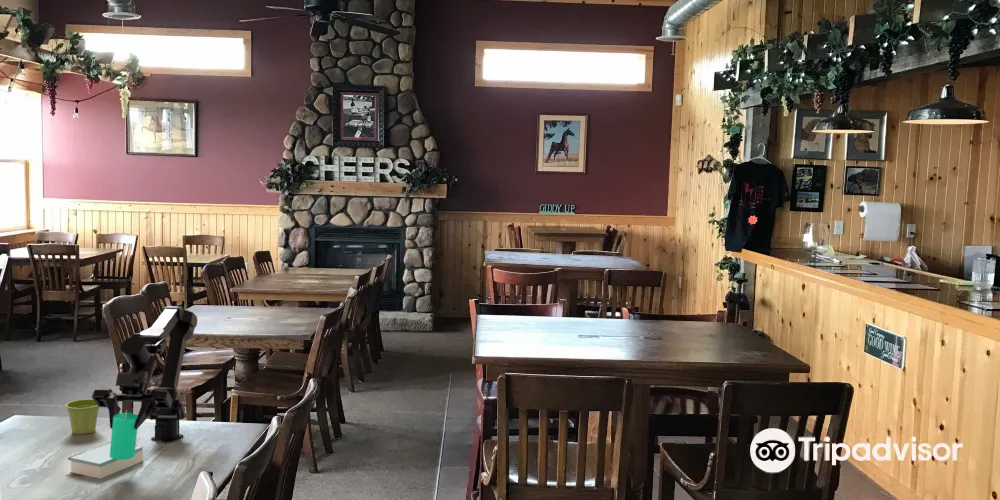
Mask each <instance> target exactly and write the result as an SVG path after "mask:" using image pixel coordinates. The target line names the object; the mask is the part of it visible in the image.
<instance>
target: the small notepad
mask: <svg viewBox="0 0 1000 500" xmlns="http://www.w3.org/2000/svg"><path fill="white" fill-rule="evenodd" d="M142 462H144V450H143V449H142V450H141V451H138V452H136V453H135V456H134V457H132V458H130V459H126V460H116V461H113V462H111V463H108V464H106V465H103V466H101V467H98V466H93V465H89V464H84V463H79V462H75V461H70V473H72V474H77V475H82V476H87V477H91V478H95V479H103V478H106V477H109V476H110V475H113V474H115V473H117V472H120V471H123V470H124V469H127V468H129V467H132V466H135V465H136V464H139V463H142Z"/></svg>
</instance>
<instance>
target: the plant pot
mask: <svg viewBox="0 0 1000 500" xmlns="http://www.w3.org/2000/svg"><path fill="white" fill-rule="evenodd" d="M65 408H67V412H68V414H69V419H70V427H71V433H72V434H74V435H82V434H84V435H88V433H89V434H91V433H94V432H95V431H96V426H97V418H98V414H99V413H98V412H99V410H100V407H99V406H97V404H96V403H95V401H94V400H93V398H86V399H85V398H84V399H82V398H81V399H76V400H72V401H69V402H68V403H66V404H65Z"/></svg>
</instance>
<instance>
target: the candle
mask: <svg viewBox="0 0 1000 500" xmlns="http://www.w3.org/2000/svg"><path fill="white" fill-rule="evenodd" d="M127 411H128V410H127V409H126V410H125V412H119V414H116V415H115V416H113V426H112V429H111V438H110V442H111V446H110V457H111V458H112V459H117V460H126V459H130V458H132V457H134V456H135V447H136V446H137V437H138V436H137V434H138V429H135V428H134V426H135V422H136V419H137V417H138V414H135V413H133V412H127Z"/></svg>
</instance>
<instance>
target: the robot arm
mask: <svg viewBox="0 0 1000 500" xmlns="http://www.w3.org/2000/svg"><path fill="white" fill-rule="evenodd" d="M197 325H198V317H197V315H196V314H195V313H194V312H192V311H190V310H188V309H184V308H183V307H182V306H180V305H179V306H178V305H177V306H176V305H174V306H173V305H167V306H164V307H163V308H162V313H160V315H159V316H158V318H157V319H156V320H155V322H154V323H153V324H152V325H151V326H150V327H149V328H147V329H144V330H141V331H140V332H139V333H132V335H131V336H130V337H128V338H126V339H125V340H124V341H123V342H122V343H121V344H120V351H121V353H122V354H123V356H124V357H125V360H126V361H127V363H128V364H129V365H130V367H129V371H127V372H118V373H117V375H116V380H115V387H117V386H118V387H119V388H118V390H119V391H120V392H122V393H115V392H114V391H113V390H112V388H100V387H97V388H96V389H94V390H93V391H92V395H91V399H93V400H94V401H95V403H96V404H97V406H99V408H107V410H108V414H109V415H108V416H109V428H110V429H111V430H112V426H113V416H115V415H116V414H119V413H121V409H122V408H121V407H120V406H119V403H120V402H127V403H128V402H129V403H130V402H131V403H132V402H133V403H135V402H137V403H140V409H139V412H138V414H137V415H138V417H137V419H136V422H135V426H134V428H135V429H137V430H138V429H139V428H140V426H142V425H143V423H144V422H145V421H146V420H147V419H148V418H149V420H150V421H153V420H155V425H154V436H152V437H151V438H150V440H152V441H156V442H161V443H171V442H174V441H176V440H179V439H181V438H183V437H184V434H181V433H180V420H183V419H185V417H186V415H185V414H186V407H185V406H184V403H183V401H182V395H181V393H180V390H179V388H178V386H179V381H180V376H181V372H182V371H181V370H182V365H183V358H184V354H185V348H186V344H187V341H188V340H189V339H190V338H191V337H192V336H193V335H194V332H195V328H197ZM168 336H169V341H168V342H167V339H166V338H168ZM166 348H167V352H166V356H165V362H164V366H163V371H162V377H161V381H160V384H159V385H158V386H157V387H154V388H153V389H152V390H151V391H150V394H148V390H149V387H150V388H151V386H152V381H151V380H152V378H153V374H154V370H155V369H157V367H158V366H157V365H158V363H157V360H156V358H155V356H154V355H158V356H159V355H162V354H163V353H164V351H165V350H166Z"/></svg>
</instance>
